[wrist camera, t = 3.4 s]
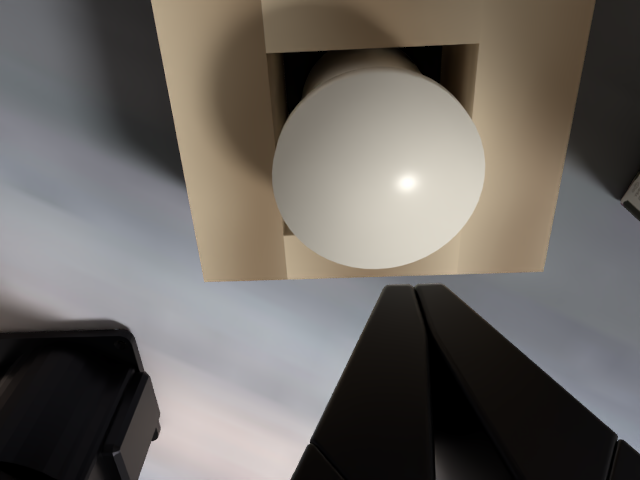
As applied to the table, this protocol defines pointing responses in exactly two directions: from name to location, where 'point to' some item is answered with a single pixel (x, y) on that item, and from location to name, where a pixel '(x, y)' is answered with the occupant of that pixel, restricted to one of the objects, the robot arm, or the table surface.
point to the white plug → (376, 161)
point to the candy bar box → (633, 197)
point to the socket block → (362, 33)
